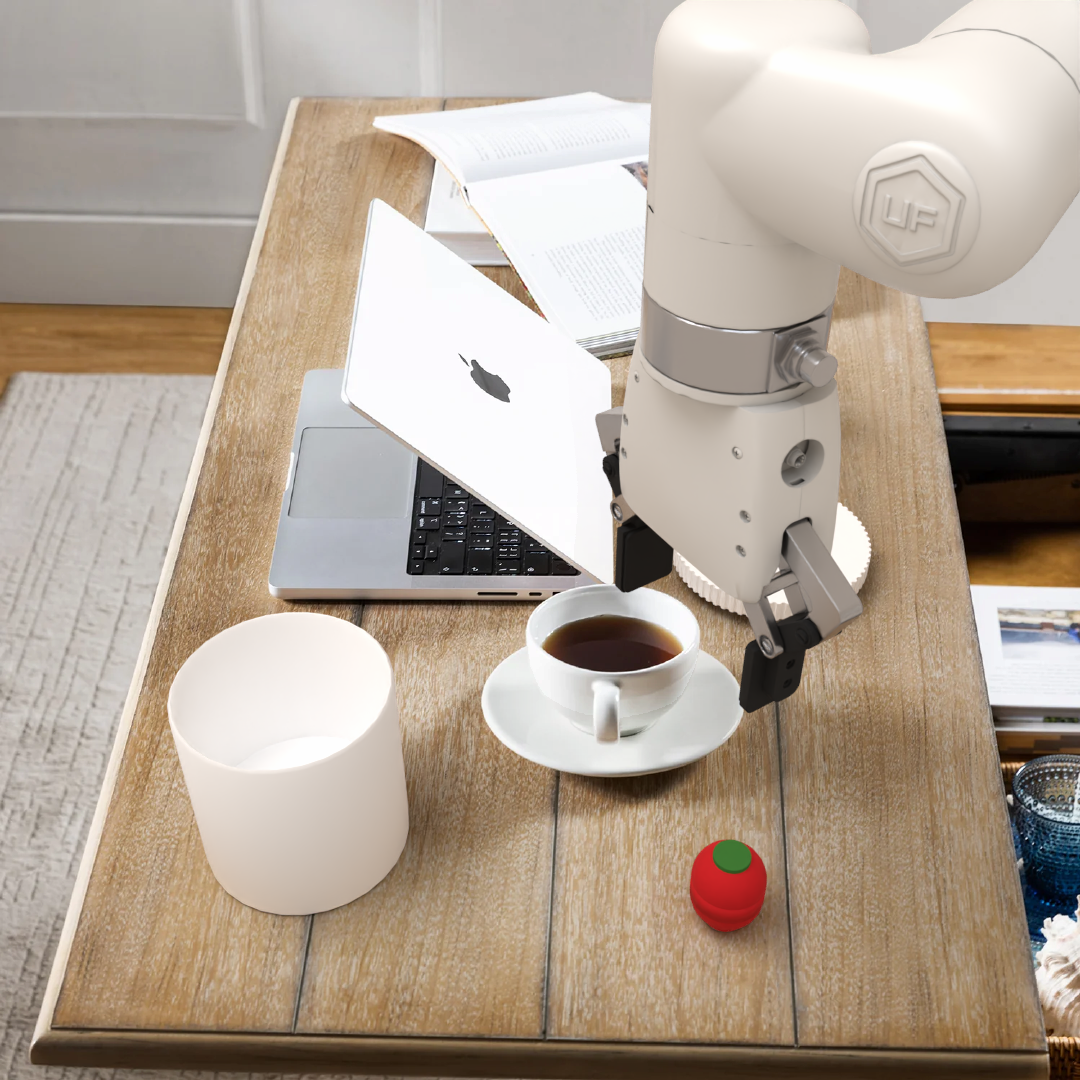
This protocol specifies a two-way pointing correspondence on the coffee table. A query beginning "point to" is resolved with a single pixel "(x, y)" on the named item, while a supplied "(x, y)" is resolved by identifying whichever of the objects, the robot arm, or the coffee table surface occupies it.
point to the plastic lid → (846, 552)
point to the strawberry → (728, 885)
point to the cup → (293, 760)
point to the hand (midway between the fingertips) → (702, 636)
